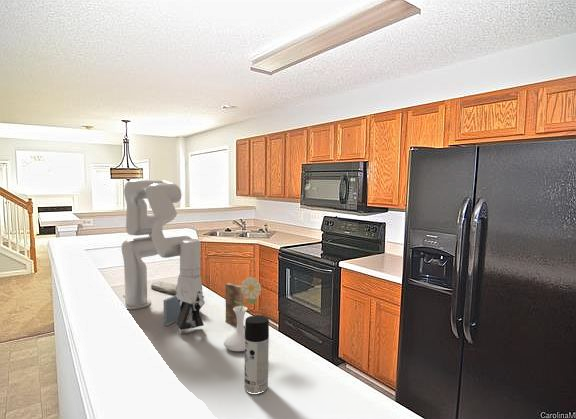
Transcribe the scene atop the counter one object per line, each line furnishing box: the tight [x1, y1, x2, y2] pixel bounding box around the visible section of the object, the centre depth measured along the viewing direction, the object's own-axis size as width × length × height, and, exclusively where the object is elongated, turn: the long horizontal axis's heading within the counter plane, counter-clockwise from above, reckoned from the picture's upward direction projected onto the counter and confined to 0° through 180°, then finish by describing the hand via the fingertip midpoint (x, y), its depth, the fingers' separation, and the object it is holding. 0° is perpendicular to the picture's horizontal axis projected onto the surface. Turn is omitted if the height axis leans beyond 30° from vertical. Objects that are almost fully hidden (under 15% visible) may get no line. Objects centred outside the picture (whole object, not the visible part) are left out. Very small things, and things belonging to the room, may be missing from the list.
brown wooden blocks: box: [225, 282, 244, 326], centre depth 148 cm, size 35×2×16 cm, turn 55°
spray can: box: [243, 315, 270, 393], centre depth 96 cm, size 7×7×20 cm
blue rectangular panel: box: [163, 295, 197, 326], centre depth 146 cm, size 20×2×10 cm, turn 155°
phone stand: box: [175, 302, 204, 331], centre depth 132 cm, size 9×6×12 cm, turn 121°
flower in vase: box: [223, 276, 262, 352], centre depth 120 cm, size 13×11×25 cm
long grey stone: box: [150, 281, 204, 296], centre depth 181 cm, size 35×5×10 cm
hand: (189, 317), depth 133 cm, fingers closed on phone stand, 6 cm apart
